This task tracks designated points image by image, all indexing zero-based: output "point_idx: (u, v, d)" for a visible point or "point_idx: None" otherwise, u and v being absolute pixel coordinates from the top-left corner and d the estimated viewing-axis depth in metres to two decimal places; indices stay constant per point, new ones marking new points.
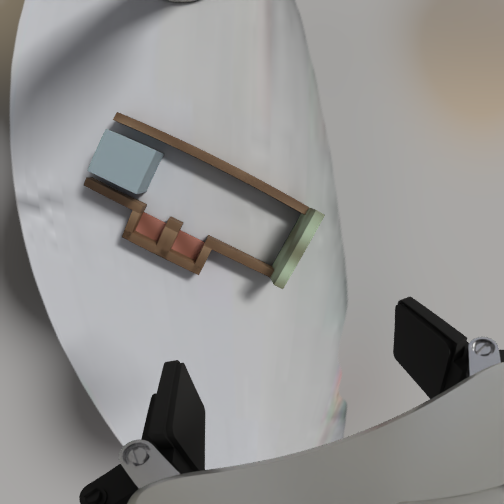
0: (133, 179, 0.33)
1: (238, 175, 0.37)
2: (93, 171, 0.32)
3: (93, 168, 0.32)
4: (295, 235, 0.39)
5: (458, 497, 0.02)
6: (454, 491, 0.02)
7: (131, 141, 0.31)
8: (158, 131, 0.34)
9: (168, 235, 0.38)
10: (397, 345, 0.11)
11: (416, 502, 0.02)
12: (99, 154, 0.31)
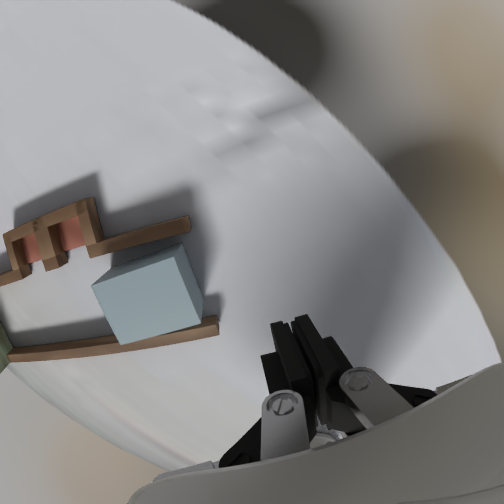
0: (109, 298, 0.21)
1: (56, 353, 0.25)
2: (163, 263, 0.21)
3: (166, 267, 0.21)
4: None
5: (458, 497, 0.02)
6: (454, 491, 0.02)
7: (154, 334, 0.23)
8: (149, 346, 0.26)
9: (46, 248, 0.22)
10: None
11: (416, 502, 0.02)
12: (176, 290, 0.22)
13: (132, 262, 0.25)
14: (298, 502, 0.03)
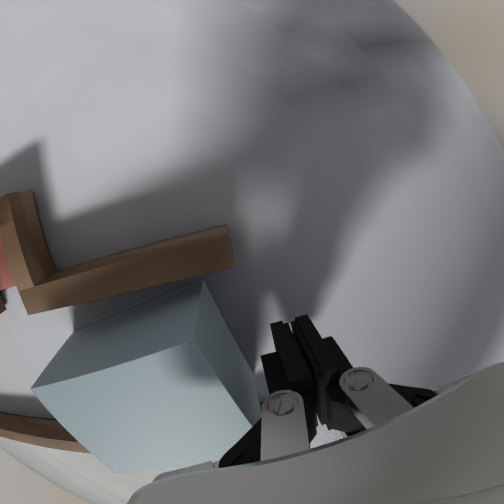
0: (69, 413, 0.08)
1: (19, 435, 0.12)
2: (169, 355, 0.08)
3: (178, 363, 0.08)
4: None
5: (458, 497, 0.02)
6: (454, 491, 0.02)
7: (172, 465, 0.09)
8: None
9: None
10: None
11: (416, 502, 0.02)
12: (210, 405, 0.08)
13: (106, 326, 0.11)
14: (298, 502, 0.03)
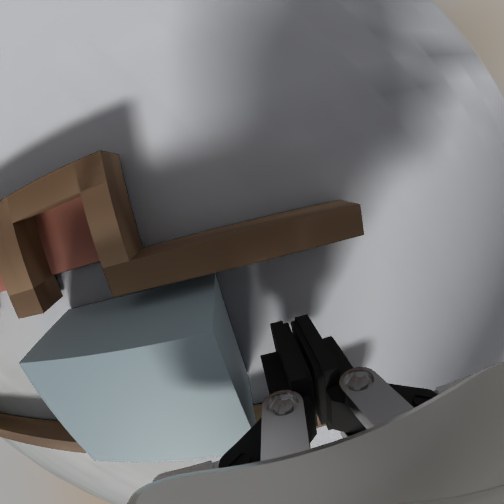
0: (58, 394, 0.08)
1: (61, 443, 0.12)
2: (183, 345, 0.08)
3: (191, 354, 0.08)
4: None
5: (458, 497, 0.02)
6: (454, 491, 0.02)
7: (159, 459, 0.09)
8: None
9: (13, 271, 0.09)
10: None
11: (416, 502, 0.02)
12: (214, 401, 0.08)
13: (107, 308, 0.11)
14: (298, 502, 0.03)
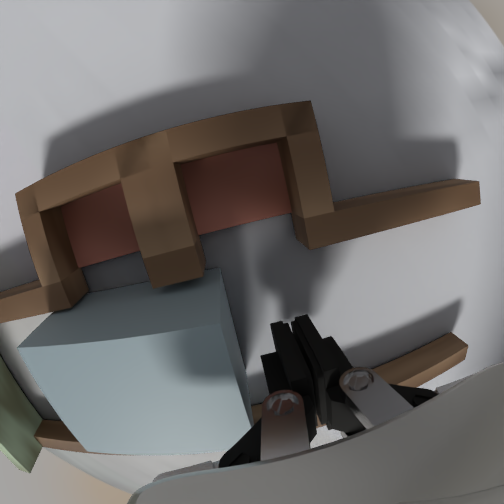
0: (55, 381, 0.08)
1: None
2: (189, 336, 0.08)
3: (196, 345, 0.08)
4: (5, 410, 0.10)
5: (458, 497, 0.02)
6: (454, 491, 0.02)
7: (153, 452, 0.09)
8: None
9: (161, 224, 0.10)
10: None
11: (416, 502, 0.02)
12: (215, 394, 0.08)
13: (109, 297, 0.11)
14: (298, 502, 0.03)
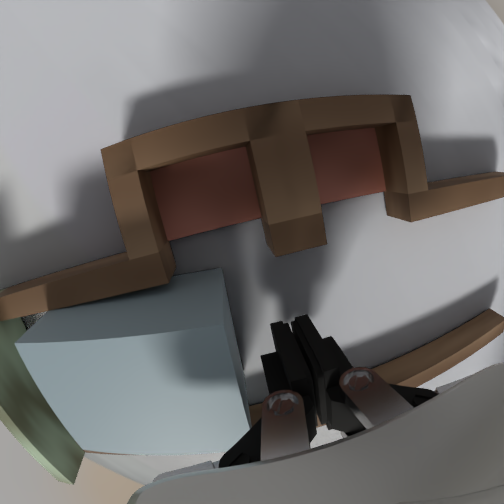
0: (52, 378, 0.07)
1: None
2: (191, 336, 0.08)
3: (198, 346, 0.08)
4: (44, 415, 0.11)
5: (458, 497, 0.02)
6: (454, 491, 0.02)
7: (150, 452, 0.09)
8: (438, 373, 0.13)
9: (292, 190, 0.10)
10: None
11: (416, 502, 0.02)
12: (215, 395, 0.08)
13: None
14: (298, 502, 0.03)
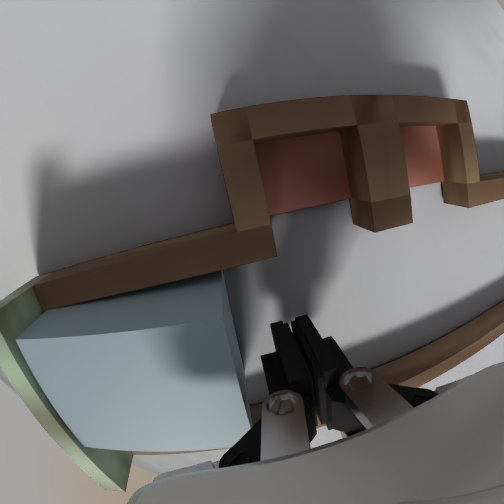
0: (53, 374, 0.08)
1: None
2: (191, 330, 0.08)
3: (198, 340, 0.08)
4: None
5: (458, 497, 0.02)
6: (454, 491, 0.02)
7: (150, 449, 0.09)
8: (479, 348, 0.13)
9: (389, 172, 0.10)
10: None
11: (416, 502, 0.02)
12: (215, 390, 0.08)
13: None
14: (298, 502, 0.03)
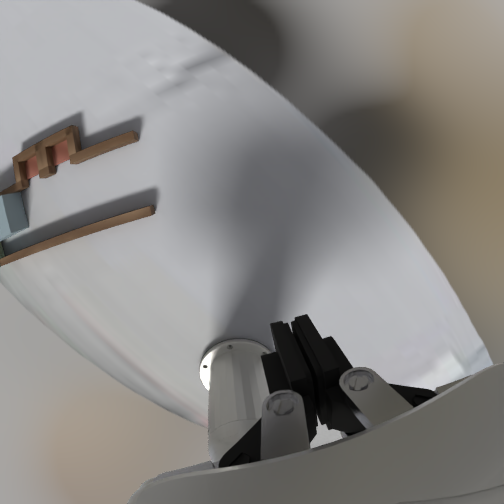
0: None
1: (37, 246, 0.33)
2: None
3: None
4: None
5: (458, 497, 0.02)
6: (454, 491, 0.02)
7: None
8: (103, 228, 0.34)
9: (42, 161, 0.30)
10: None
11: (416, 502, 0.02)
12: (2, 213, 0.28)
13: None
14: (298, 502, 0.03)
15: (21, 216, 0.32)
